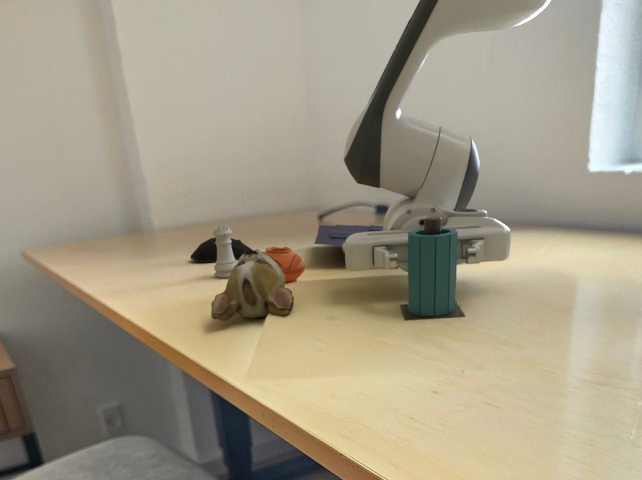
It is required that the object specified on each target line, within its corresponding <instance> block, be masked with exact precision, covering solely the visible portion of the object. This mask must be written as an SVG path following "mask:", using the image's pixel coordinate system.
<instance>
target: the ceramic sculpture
mask: <svg viewBox="0 0 642 480" xmlns="http://www.w3.org/2000/svg"><path fill="white" fill-rule="evenodd" d="M262 252H263V251H261V250H260V249H258V248H256V249H255V250H253V249H252V250H248V251H246V252H245V253H244V254H243V255H242V256H241V257H240V258H239V259H237V265H236V266H235V267H234V268H233V270H232V271H231V274H230V275H229V278H227V283H226V287H225V290H224V291H222V292H220V293H218V294H215V296H214V299H213V300H212V302H211V309H210V311H211V313H210V314H211V315H210V317H211V319H212V320H217V321H221V322H223V321H229V320H231V319H232V318H233V317H235V315H236V314H238V315H240V316H242V317H244V318H250V319H255V318H263V317H266V316H268V315H269V313H271V314H272V315H276V316H286V315H288V314H290V313H291V312H292V311H293V309H294V303H295V302H294V301H295V297H294V294H293V291H292V290H291V289H290V288H289V287H286V283H285V281H286V280H285V275H284V273H283V272H282V271H281V269H280V268H279V266H278V265H277V263H275V262H274V261H273V260H272V259H271V257H269V256H267V255H265V254H264V253H262Z"/></svg>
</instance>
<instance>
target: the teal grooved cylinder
mask: <svg viewBox="0 0 642 480" xmlns="http://www.w3.org/2000/svg"><path fill="white" fill-rule="evenodd" d="M457 238H458V232H457V231H456V229H450V228H441V234H439V235H424V229H418V230H414V231H411V232H408V272H407V304H408V310H409V313H410V314H414V315H417V316H431V317H433V316H441V315H447V314H450V313H452V312H454V311H455V304H456V301H457V300H456V299H457V266H458V265H457Z"/></svg>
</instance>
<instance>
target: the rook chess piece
mask: <svg viewBox="0 0 642 480" xmlns="http://www.w3.org/2000/svg"><path fill="white" fill-rule="evenodd" d="M213 230H214V231H213V232H212V235H213V236H214V238H216V242H215V244H216V245H217V261H215V265H214V266H213V267H214V268H213V270H214V271H215V272H214V274H213V275H214V276H215V277H216V278H217V279H228V278H229V275H230V274H231V271H232V270H233V268H234V267H235V266H236V265H237V263H238V261H237V259H235V258H234V255H233V252H232V248H231V242H232V241H231V240H230V238H231V236H232V234H233V231H232V230H231V228H230V225H227V224H225V225H224V224H223V225H222V226H221V225H217V226H213Z"/></svg>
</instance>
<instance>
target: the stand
mask: <svg viewBox="0 0 642 480" xmlns="http://www.w3.org/2000/svg"><path fill="white" fill-rule="evenodd" d="M439 234H441V217H427V218H424V235H439ZM399 308H400V311H401V314H402V317H403V320H404V321H407V322H408V321H421V320H422V321H424V320H437V319H439V320H441V319H453V318H455V319H456V318H457V319H458V318H467V316H466V314H465V313H464V310H463V309H462V308H461V306H460V305H459V303H458V301H457V300H456V304H455V311H454V312H452V313H450V314H447V315H441V316H433V317H431V316H417V315H414V314H410V313H409V310H408V303H403V304H402V303H401V304H399Z"/></svg>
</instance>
